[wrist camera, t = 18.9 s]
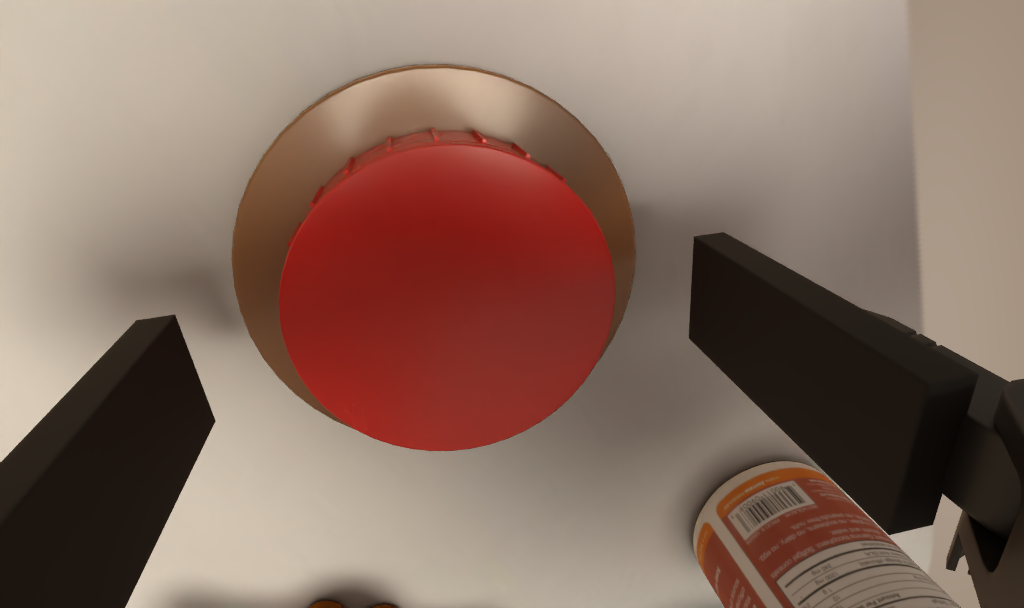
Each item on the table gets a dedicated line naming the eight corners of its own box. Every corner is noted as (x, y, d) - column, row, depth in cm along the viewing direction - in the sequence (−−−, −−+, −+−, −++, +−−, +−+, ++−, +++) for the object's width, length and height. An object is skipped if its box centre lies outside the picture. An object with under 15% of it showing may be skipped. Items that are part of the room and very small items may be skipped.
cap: (391, 57, 13) (390, 58, 11) (644, 232, 16) (681, 259, 14) (238, 331, 15) (213, 376, 13) (489, 442, 18) (501, 492, 16)
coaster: (692, 168, 16) (706, 173, 16) (531, 461, 20) (536, 477, 19) (311, -22, 13) (306, -26, 12) (193, 375, 16) (184, 390, 15)
